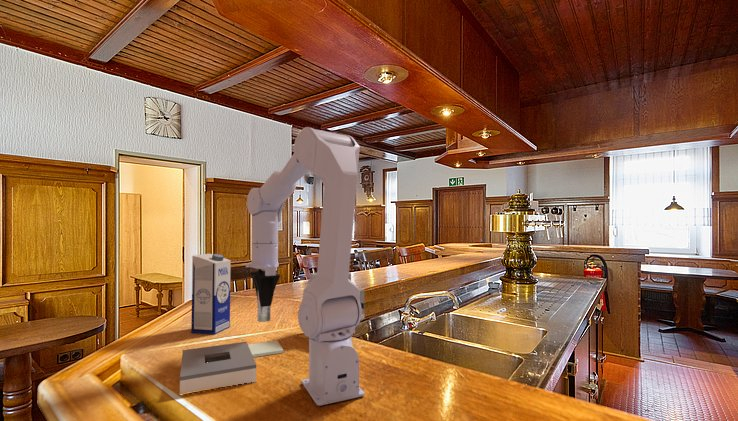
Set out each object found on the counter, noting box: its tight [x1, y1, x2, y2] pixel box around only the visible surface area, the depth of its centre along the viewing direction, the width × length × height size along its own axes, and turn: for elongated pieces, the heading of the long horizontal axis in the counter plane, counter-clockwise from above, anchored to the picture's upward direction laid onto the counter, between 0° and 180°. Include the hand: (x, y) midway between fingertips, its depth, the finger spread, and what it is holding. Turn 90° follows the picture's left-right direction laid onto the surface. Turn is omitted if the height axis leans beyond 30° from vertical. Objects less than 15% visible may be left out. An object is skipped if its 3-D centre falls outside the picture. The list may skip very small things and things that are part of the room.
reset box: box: [179, 341, 257, 395], centre depth 68 cm, size 14×12×3 cm
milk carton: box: [190, 253, 232, 335], centre depth 96 cm, size 7×7×20 cm
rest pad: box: [248, 340, 284, 358], centre depth 80 cm, size 7×7×1 cm
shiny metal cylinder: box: [256, 294, 272, 323], centre depth 81 cm, size 3×3×9 cm
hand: (264, 304), depth 81 cm, fingers closed on shiny metal cylinder, 3 cm apart
